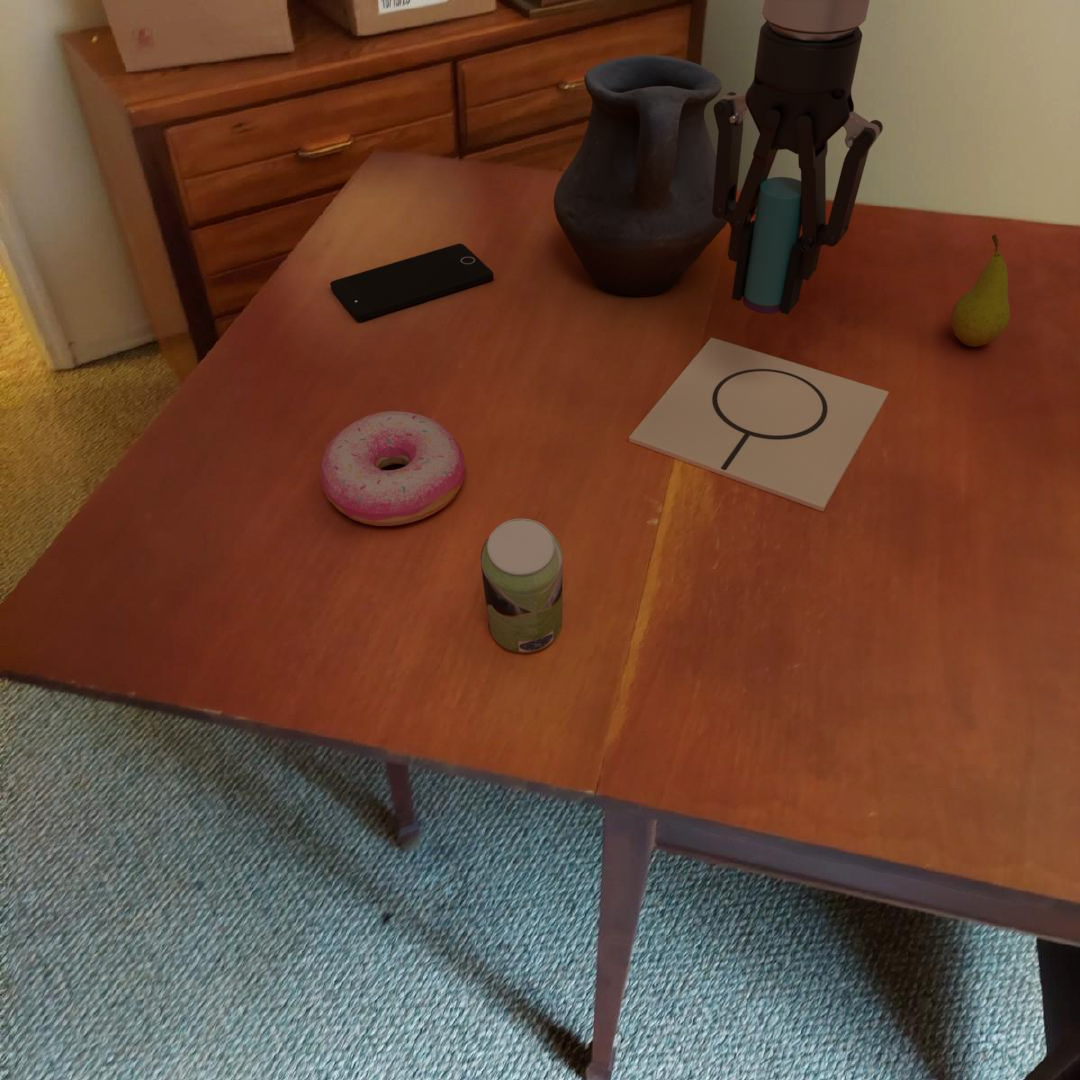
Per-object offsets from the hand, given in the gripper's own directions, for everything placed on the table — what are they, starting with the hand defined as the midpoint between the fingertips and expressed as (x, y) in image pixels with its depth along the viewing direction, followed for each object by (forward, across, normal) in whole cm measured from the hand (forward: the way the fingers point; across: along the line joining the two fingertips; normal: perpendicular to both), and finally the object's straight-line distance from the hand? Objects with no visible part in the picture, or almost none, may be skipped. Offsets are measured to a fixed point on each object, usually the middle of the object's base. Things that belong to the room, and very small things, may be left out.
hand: (765, 299), depth 88 cm
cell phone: (+13, +44, -3) cm, 46 cm away
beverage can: (+14, +4, +36) cm, 38 cm away
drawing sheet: (+13, -2, 0) cm, 14 cm away
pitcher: (+13, +22, -18) cm, 31 cm away
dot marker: (0, 0, 0) cm, 0 cm away
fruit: (+14, -16, -24) cm, 32 cm away
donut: (+14, +24, +27) cm, 39 cm away
